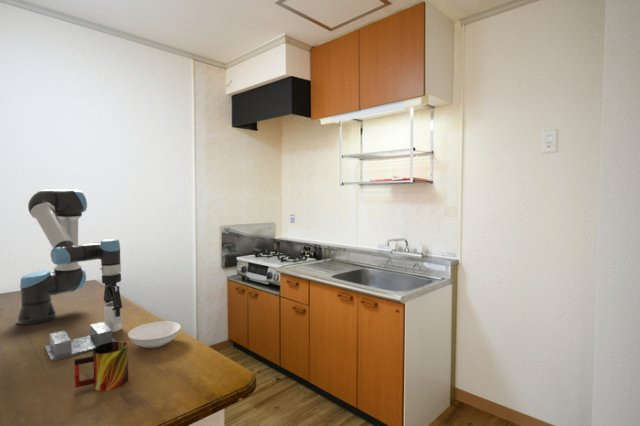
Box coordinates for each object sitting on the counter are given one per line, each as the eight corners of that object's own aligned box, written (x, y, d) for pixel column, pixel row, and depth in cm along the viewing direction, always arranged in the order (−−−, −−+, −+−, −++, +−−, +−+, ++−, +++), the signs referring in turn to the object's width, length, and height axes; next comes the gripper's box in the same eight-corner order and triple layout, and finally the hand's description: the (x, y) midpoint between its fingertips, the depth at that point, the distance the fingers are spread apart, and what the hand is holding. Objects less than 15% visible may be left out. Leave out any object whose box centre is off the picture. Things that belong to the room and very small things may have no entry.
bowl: (191, 338, 151) (191, 324, 151) (156, 359, 133) (155, 342, 132) (154, 332, 158) (154, 318, 158) (116, 351, 139) (115, 335, 139)
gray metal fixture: (45, 348, 142) (44, 334, 142) (106, 333, 158) (106, 320, 157) (51, 361, 131) (50, 346, 131) (117, 343, 146) (116, 330, 146)
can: (113, 333, 157) (113, 306, 157) (101, 332, 159) (100, 306, 158) (124, 328, 164) (123, 302, 163) (112, 327, 165) (111, 301, 164)
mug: (74, 390, 112) (72, 353, 111) (120, 372, 123) (119, 338, 122) (86, 401, 106) (85, 362, 105) (133, 381, 117) (132, 346, 116)
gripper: (95, 271, 166) (96, 315, 167) (109, 279, 148) (111, 329, 149) (113, 268, 171) (114, 311, 172) (129, 276, 154) (130, 324, 154)
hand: (113, 319), depth 161 cm, fingers open, 13 cm apart
